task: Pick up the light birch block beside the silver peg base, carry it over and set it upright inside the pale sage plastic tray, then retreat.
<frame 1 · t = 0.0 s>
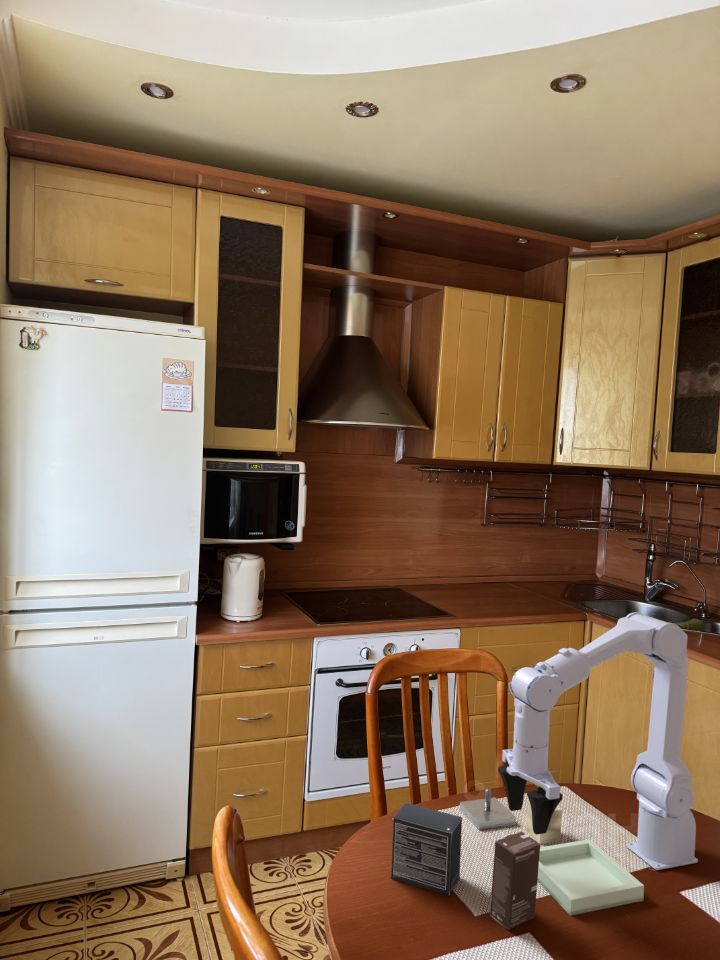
hand: (527, 820, 115), 10 cm above the table, fingers open, 7 cm apart
box: (513, 918, 106), on the table
tray: (580, 881, 116), on the table
small box: (425, 878, 115), on the table
birch block: (543, 836, 130), on the table
silver peg base: (487, 816, 136), on the table
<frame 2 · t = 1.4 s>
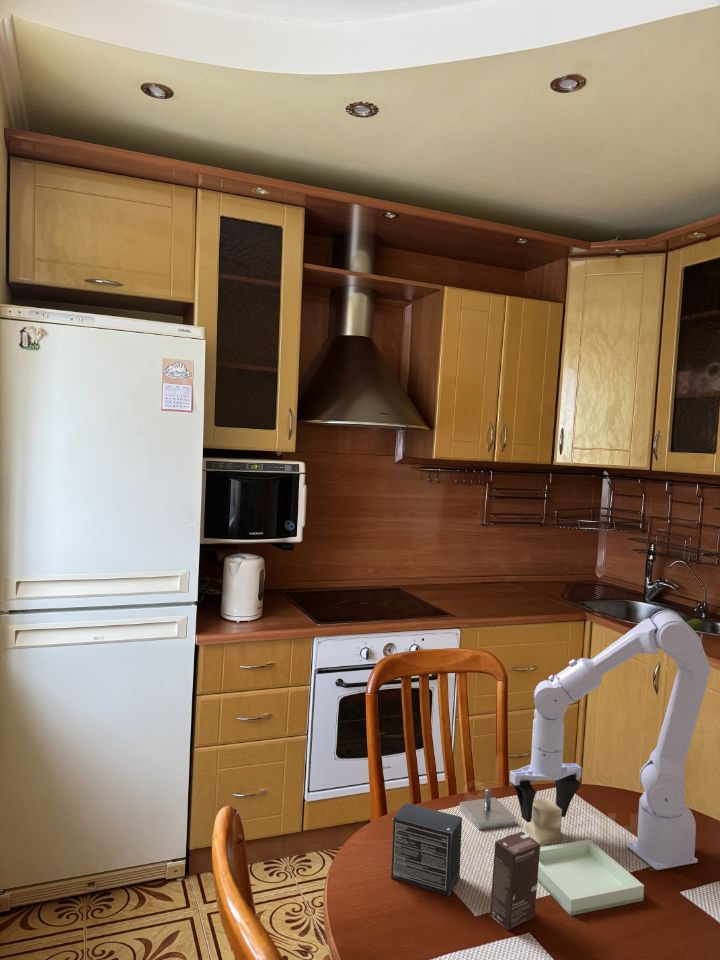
hand: (543, 816, 130), 4 cm above the table, fingers open, 7 cm apart
nothing on the table moved.
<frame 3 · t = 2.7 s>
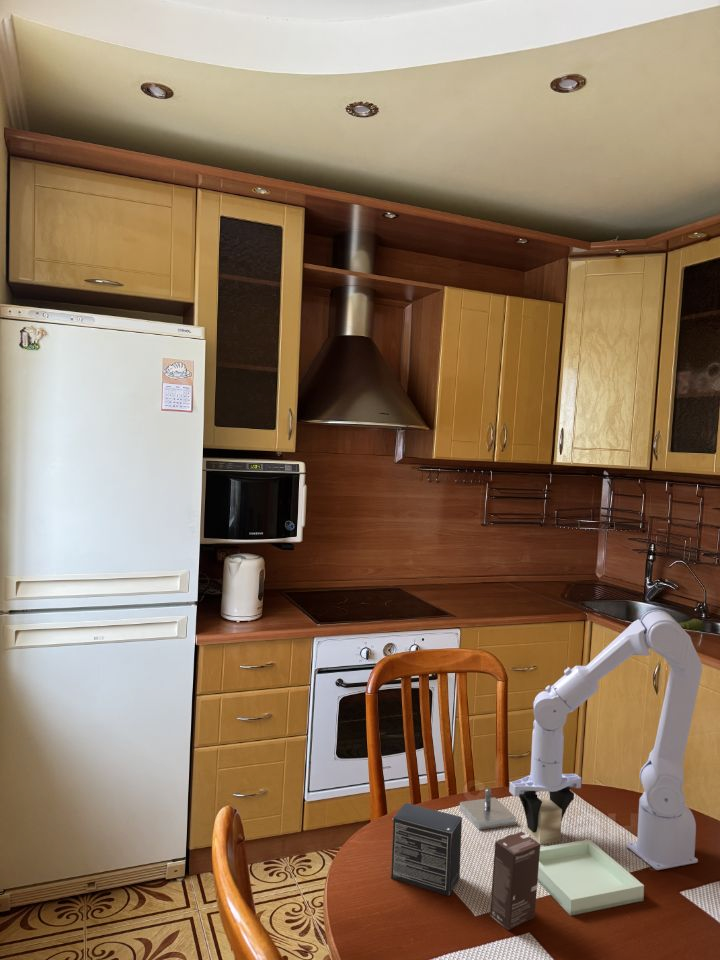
hand: (543, 827, 130), 2 cm above the table, fingers closed on birch block, 4 cm apart
birch block: (543, 836, 130), on the table, touching gripper
everything else where it was.
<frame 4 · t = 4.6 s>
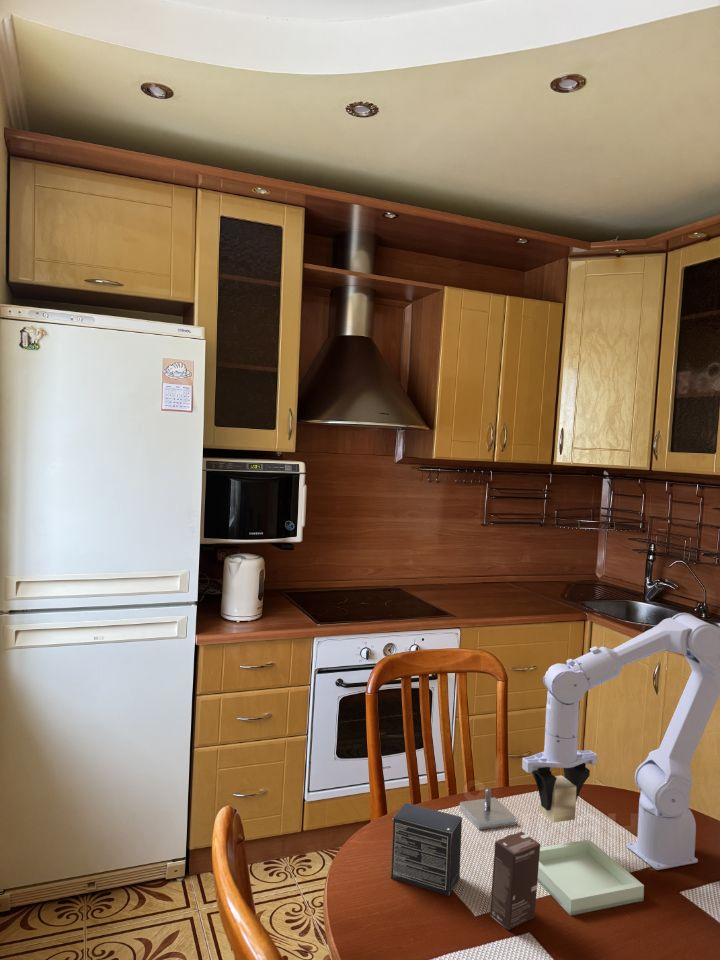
hand: (558, 806, 124), 8 cm above the table, fingers closed on birch block, 4 cm apart
birch block: (557, 814, 125), point 7 cm above the table, touching gripper
everything else where it was.
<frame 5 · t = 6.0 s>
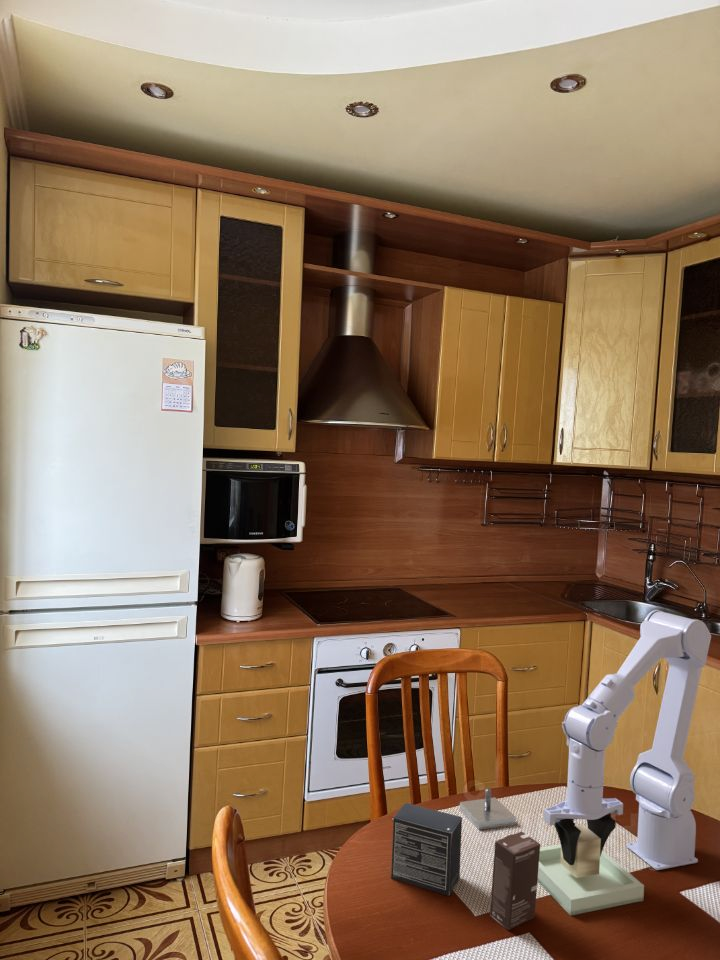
hand: (581, 859, 116), 4 cm above the table, fingers closed on birch block, 4 cm apart
birch block: (579, 868, 116), point 2 cm above the table, touching gripper
everything else where it was.
when the fingers open (4 cm above the table, at t = 6.9 s): birch block drops 1 cm, resting on tray.
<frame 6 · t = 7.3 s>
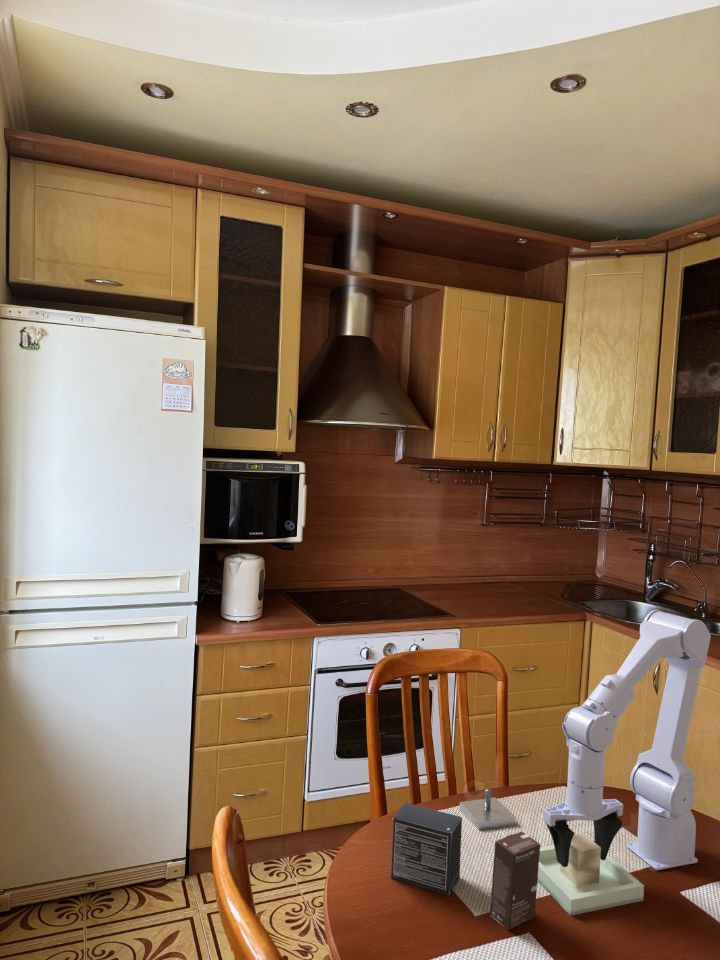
hand: (581, 860, 116), 4 cm above the table, fingers open, 7 cm apart
birch block: (579, 877, 116), point 1 cm above the table, touching tray
everything else where it was.
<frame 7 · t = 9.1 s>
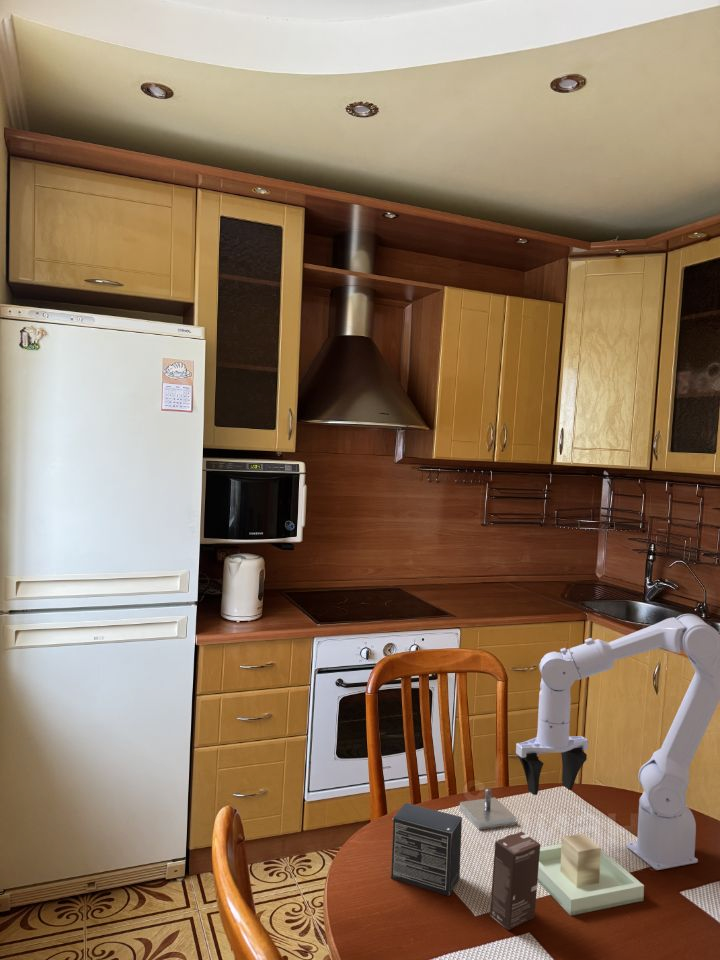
hand: (550, 790, 128), 9 cm above the table, fingers open, 7 cm apart
nothing on the table moved.
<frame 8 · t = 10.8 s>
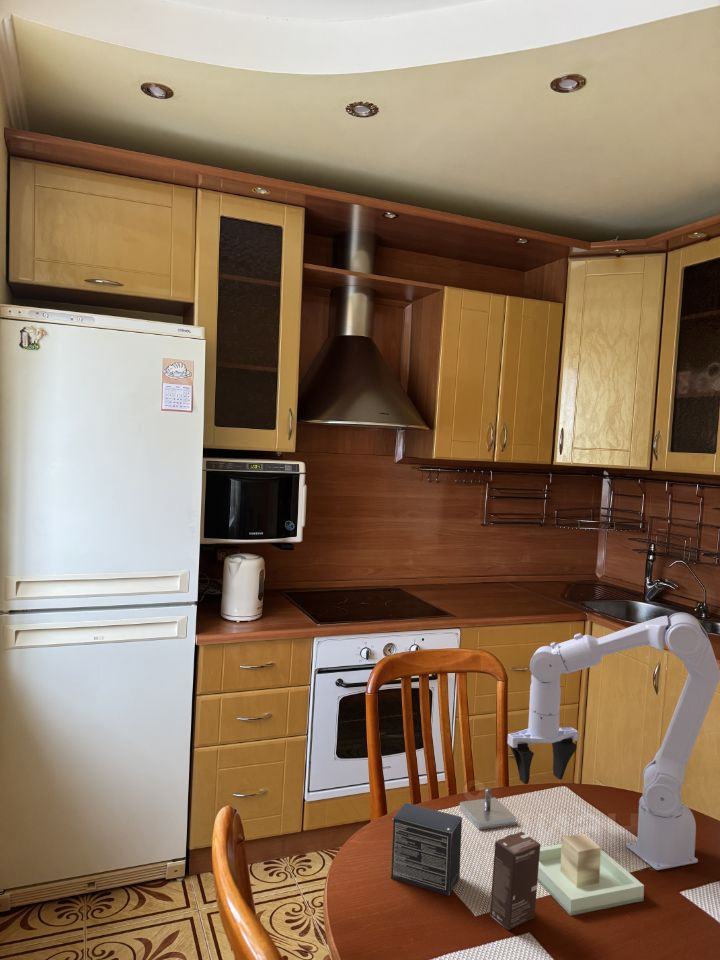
hand: (541, 779, 132), 9 cm above the table, fingers open, 7 cm apart
nothing on the table moved.
at the end: birch block inside the target area on the tray (0.3 cm from its centre), point 0.6 cm above the tray's base; birch block tilted 0°; the gripper is holding nothing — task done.
